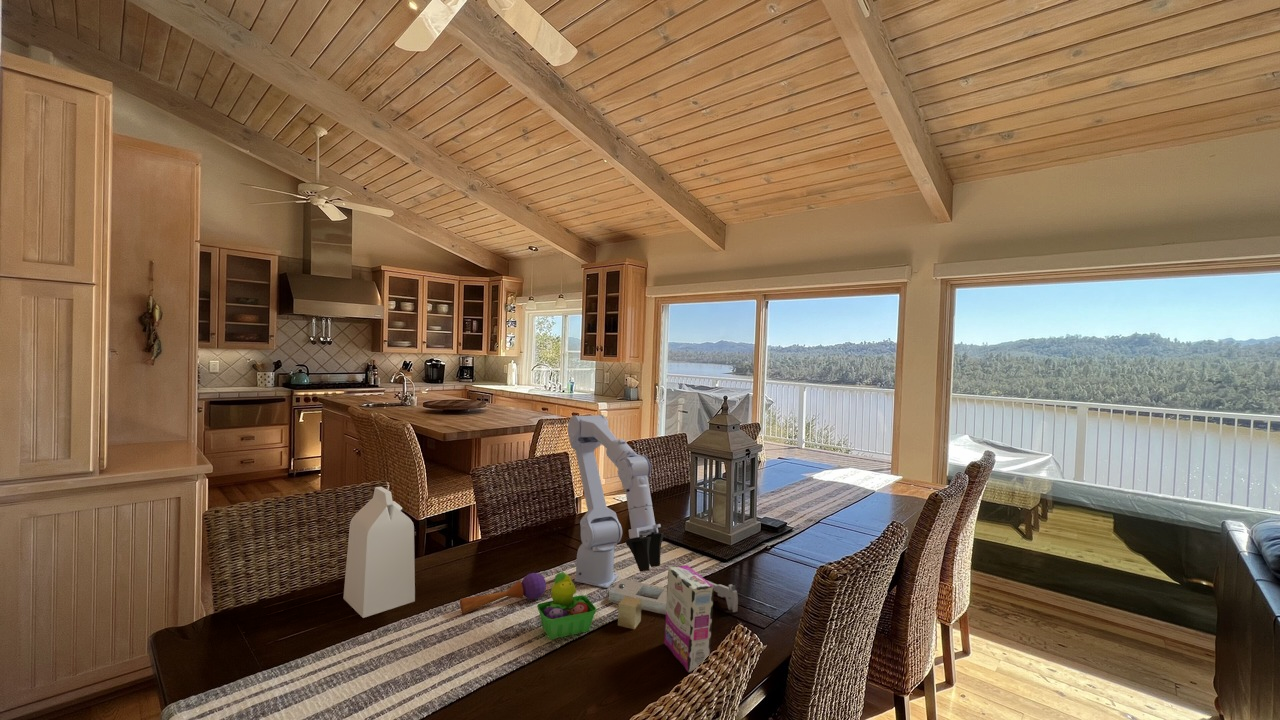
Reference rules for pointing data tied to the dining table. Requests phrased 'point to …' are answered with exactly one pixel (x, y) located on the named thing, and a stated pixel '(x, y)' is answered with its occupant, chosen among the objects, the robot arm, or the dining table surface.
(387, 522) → the milk
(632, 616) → the block
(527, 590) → the purple maraca
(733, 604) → the caliper
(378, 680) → the dining table surface
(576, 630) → the fruit basket
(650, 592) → the white slotted plate
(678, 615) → the candy bar box
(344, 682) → the dining table surface
